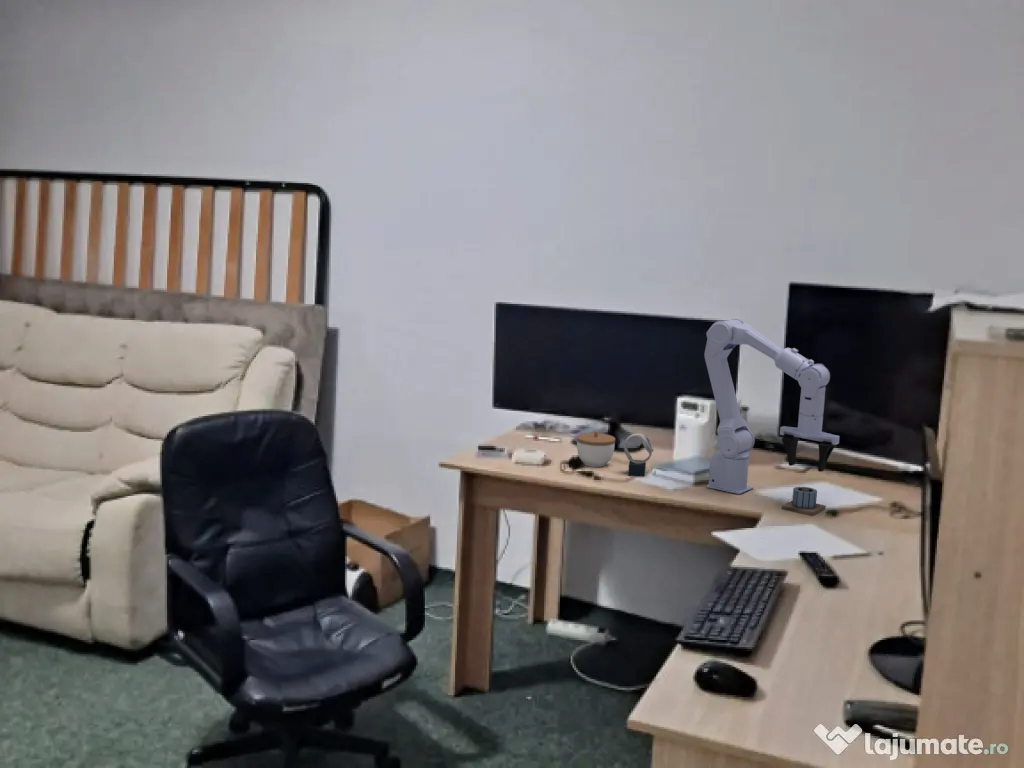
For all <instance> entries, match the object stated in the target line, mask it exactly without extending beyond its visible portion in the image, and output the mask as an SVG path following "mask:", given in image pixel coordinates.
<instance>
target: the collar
mask: <svg viewBox="0 0 1024 768" xmlns="http://www.w3.org/2000/svg"><path fill="white" fill-rule="evenodd" d="M802 488H807V489H809V492H803V491H801V489H802ZM817 497H818V490H817V489H816V488H812V487H808V486H795V487H793V490H792V500H791V501H792V505H793V506H795V507H797V508H801V509H802V508H803V509H813V508H816V504H817Z"/></svg>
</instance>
